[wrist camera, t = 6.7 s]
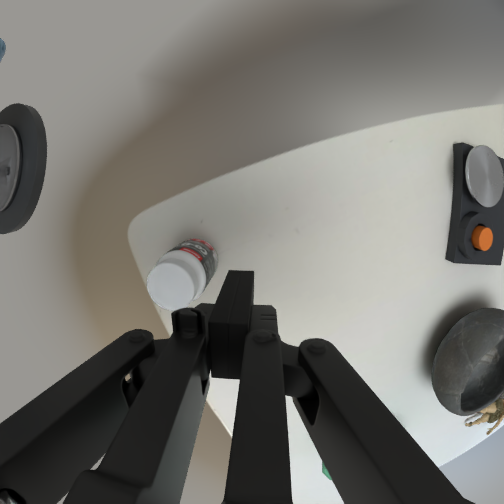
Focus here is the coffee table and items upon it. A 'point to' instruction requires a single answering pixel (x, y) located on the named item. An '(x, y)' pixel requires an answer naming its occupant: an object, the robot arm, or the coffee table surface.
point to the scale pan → (484, 176)
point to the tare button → (482, 238)
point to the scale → (472, 218)
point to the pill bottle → (182, 274)
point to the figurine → (491, 414)
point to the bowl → (471, 363)
